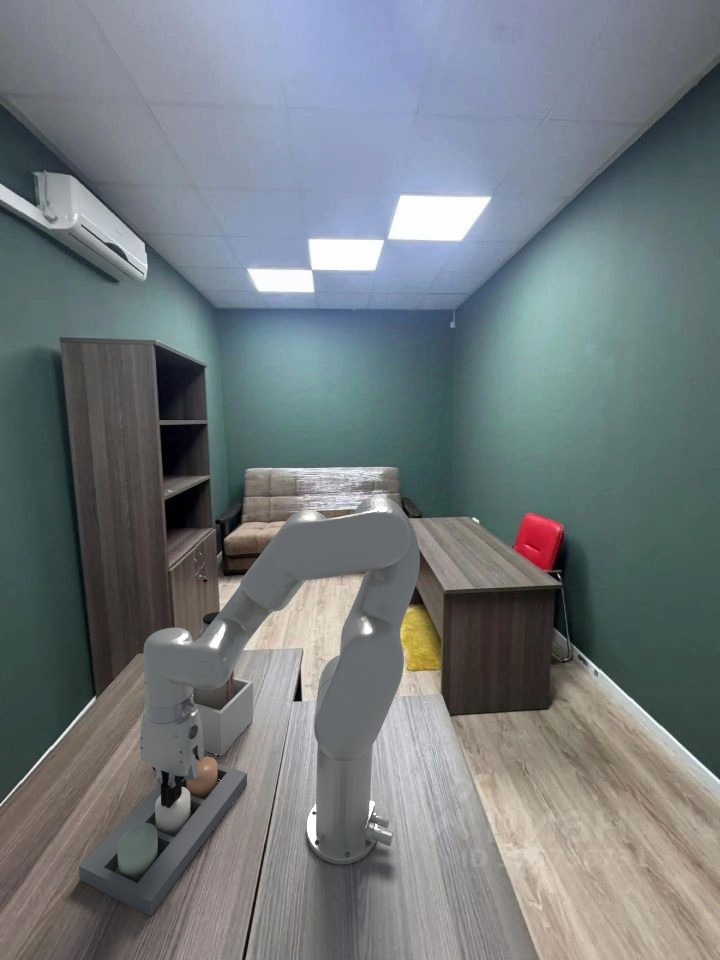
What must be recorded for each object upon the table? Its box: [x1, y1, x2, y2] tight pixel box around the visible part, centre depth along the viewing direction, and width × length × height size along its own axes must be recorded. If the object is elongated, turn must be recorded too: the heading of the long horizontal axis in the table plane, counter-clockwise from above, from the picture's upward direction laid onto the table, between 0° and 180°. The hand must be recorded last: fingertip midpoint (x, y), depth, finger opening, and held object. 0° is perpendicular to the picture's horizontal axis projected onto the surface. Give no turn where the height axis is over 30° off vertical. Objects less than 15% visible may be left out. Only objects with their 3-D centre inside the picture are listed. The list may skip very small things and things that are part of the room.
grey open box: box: [194, 676, 254, 757], centre depth 97 cm, size 12×12×10 cm
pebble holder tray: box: [78, 762, 248, 917], centre depth 74 cm, size 14×24×2 cm, turn 161°
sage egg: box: [117, 823, 159, 883], centre depth 67 cm, size 6×6×4 cm
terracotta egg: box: [186, 756, 219, 800], centre depth 81 cm, size 6×6×4 cm
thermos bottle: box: [197, 611, 235, 710], centre depth 95 cm, size 8×8×28 cm
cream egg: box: [155, 787, 192, 837], centre depth 74 cm, size 6×6×4 cm
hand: (171, 799), depth 73 cm, fingers closed
